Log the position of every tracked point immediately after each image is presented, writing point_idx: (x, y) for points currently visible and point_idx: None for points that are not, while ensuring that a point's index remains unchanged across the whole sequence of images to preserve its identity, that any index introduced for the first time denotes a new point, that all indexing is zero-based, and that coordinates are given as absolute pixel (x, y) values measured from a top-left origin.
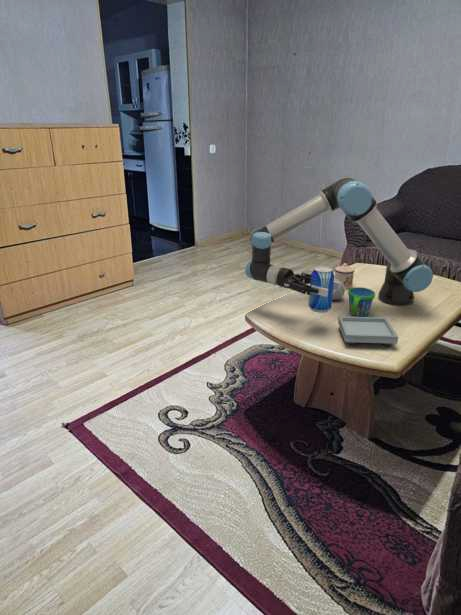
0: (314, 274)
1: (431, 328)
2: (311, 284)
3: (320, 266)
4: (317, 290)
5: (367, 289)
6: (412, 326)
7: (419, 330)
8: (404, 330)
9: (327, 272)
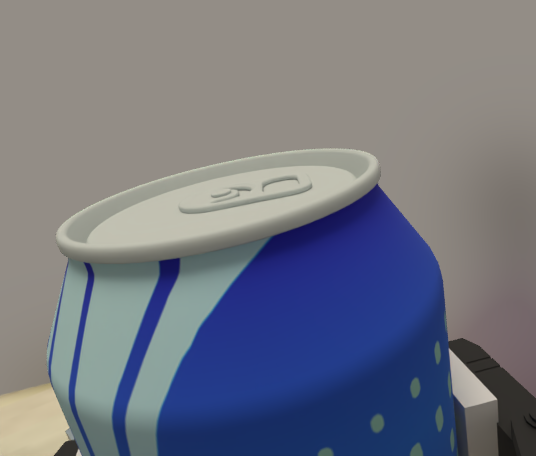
0: (416, 237)
1: (4, 406)
2: (454, 439)
3: (91, 249)
4: (460, 343)
5: None
6: (4, 443)
7: (38, 414)
8: (59, 438)
9: (282, 166)
